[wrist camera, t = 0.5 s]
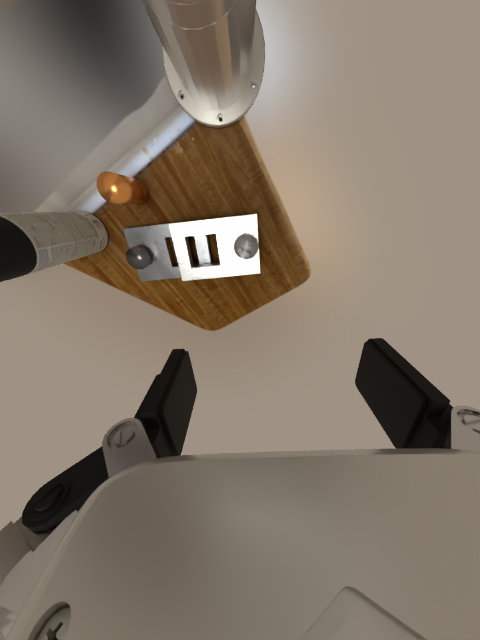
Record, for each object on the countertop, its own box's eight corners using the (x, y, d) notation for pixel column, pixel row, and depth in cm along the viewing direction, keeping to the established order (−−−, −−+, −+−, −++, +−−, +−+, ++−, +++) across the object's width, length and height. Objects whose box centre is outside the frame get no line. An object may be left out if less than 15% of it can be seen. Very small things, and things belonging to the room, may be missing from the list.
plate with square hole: (255, 213, 34) (256, 214, 31) (258, 267, 39) (260, 273, 35) (176, 222, 35) (168, 224, 32) (187, 274, 39) (182, 280, 36)
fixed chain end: (205, 218, 35) (200, 220, 31) (213, 271, 39) (210, 278, 36) (128, 227, 36) (114, 230, 32) (145, 278, 40) (135, 285, 36)
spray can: (64, 209, 35) (-118, 213, 17) (104, 212, 35) (-35, 218, 17) (77, 250, 38) (-66, 289, 20) (114, 253, 38) (4, 293, 21)
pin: (124, 180, 33) (91, 173, 26) (145, 177, 32) (118, 169, 25) (132, 205, 34) (103, 204, 27) (151, 202, 34) (128, 201, 27)
